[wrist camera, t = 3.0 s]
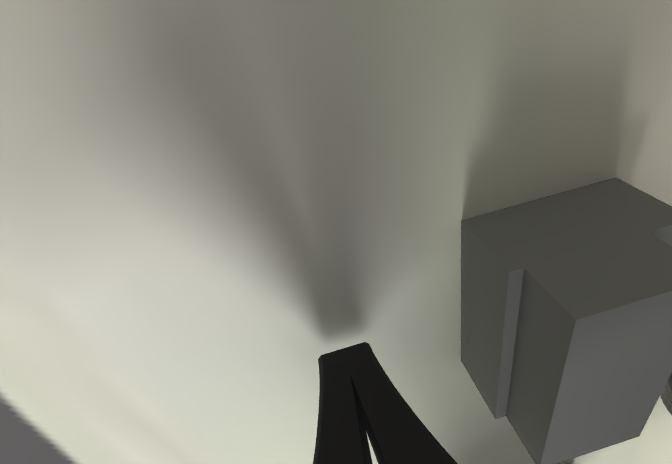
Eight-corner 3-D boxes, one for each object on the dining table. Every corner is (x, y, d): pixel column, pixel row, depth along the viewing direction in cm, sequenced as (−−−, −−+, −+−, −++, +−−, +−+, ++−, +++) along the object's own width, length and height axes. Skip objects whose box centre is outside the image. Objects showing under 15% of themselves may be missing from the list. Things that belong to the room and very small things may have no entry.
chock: (575, 321, 14) (676, 423, 11) (458, 356, 14) (527, 473, 11) (610, 174, 11) (773, 259, 8) (458, 217, 10) (558, 325, 7)
